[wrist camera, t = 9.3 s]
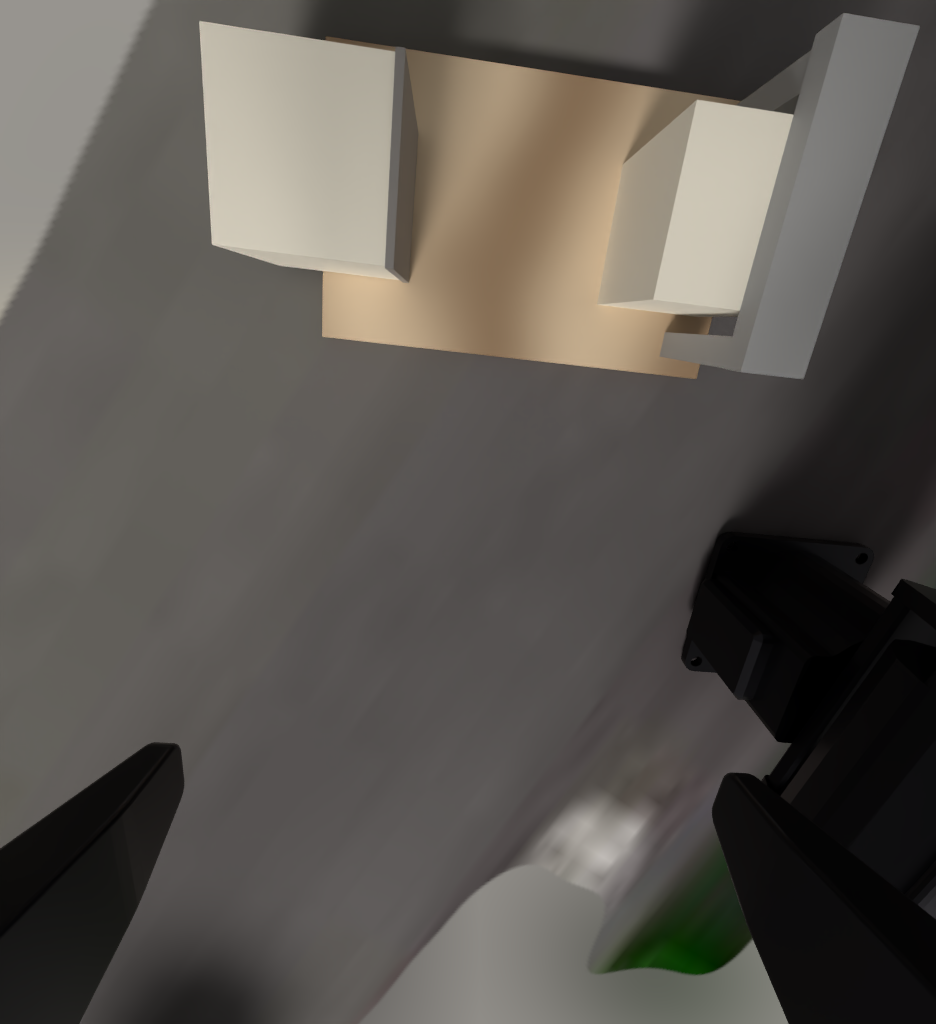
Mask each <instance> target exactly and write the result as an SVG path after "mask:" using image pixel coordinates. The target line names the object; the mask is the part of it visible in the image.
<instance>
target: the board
mask: <svg viewBox="0 0 936 1024" xmlns="http://www.w3.org/2000/svg"><path fill="white" fill-rule="evenodd" d="M325 41H331V42H337V43H343V44H350V45H356V46H363V47H369V48H376V49H382V50H388V51H395V47H391V46H385V45H379V44H372V43H366V42H359V41H353V40H347V39H340V38H334V37H327V36H326V39H325ZM406 55H407V61H408V68H409V74H410V81H411V87H412V94H413V100H414V107H415V113H416V120H417V126H418V148H417V164H416V179H415V195H414V210H413V226H412V242H411V257H410V273H409V283H403V282H402V281H400V280H393V279H385V278H376V277H368V276H360V275H352V274H344V273H336V272H327V271H323V324H322V337H330V338H339V339H348V340H357V341H365V342H374V343H383V344H392V345H401V346H410V347H418V348H427V349H436V350H445V351H454V352H463V353H471V354H480V355H489V356H498V357H507V358H516V359H525V360H533V361H542V362H551V363H560V364H569V365H578V366H586V367H595V368H604V369H613V370H622V371H631V372H639V373H648V374H657V375H666V376H675V377H684V378H692V379H696V378H697V374H698V370H699V366H700V364H698V363H692V362H687V361H681V360H676V359H670V358H665V357H659V355H660V351H661V347H662V342H663V338H664V334H665V332H669V333H685V334H700V335H708V332H709V328H710V324H711V320H712V317H694V316H686V315H678V314H669V313H661V312H653V311H645V310H637V309H629V308H620V307H612V306H604V305H597V301H598V296H599V290H600V285H601V280H602V274H603V269H604V263H605V258H606V252H607V247H608V241H609V236H610V231H611V225H612V220H613V214H614V209H615V203H616V198H617V193H618V187H619V182H620V176H621V171H622V165H623V164H624V163H625V162H626V161H627V160H629V159H630V158H631V157H632V156H633V155H634V154H635V153H637V152H638V151H639V150H640V149H641V148H642V147H643V146H645V145H646V144H647V143H648V142H649V141H650V140H651V139H653V138H654V137H655V136H656V135H657V134H658V133H659V132H661V131H662V130H663V129H664V128H665V127H666V126H667V125H669V124H670V123H671V122H672V121H673V120H674V119H675V118H677V117H678V116H679V115H680V114H681V113H682V112H683V111H685V110H686V109H687V108H688V107H689V106H690V105H691V104H693V103H694V102H695V101H696V100H703V101H709V102H716V103H722V104H729V105H735V106H736V105H737V104H738V103H740V102H741V101H737V100H731V99H724V98H718V97H712V96H705V95H699V94H692V93H686V92H680V91H673V90H667V89H660V88H654V87H648V86H641V85H635V84H628V83H622V82H616V81H609V80H603V79H596V78H590V77H584V76H577V75H571V74H564V73H558V72H552V71H545V70H539V69H532V68H526V67H520V66H513V65H507V64H500V63H494V62H488V61H481V60H475V59H468V58H462V57H456V56H449V55H443V54H436V53H430V52H423V51H417V50H411V49H406Z"/></svg>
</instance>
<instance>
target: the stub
mask: <svg viewBox="0 0 936 1024" xmlns="http://www.w3.org/2000/svg"><path fill="white" fill-rule="evenodd" d="M199 24H200V42H201V59H202V77H203V94H204V112H205V129H206V147H207V164H208V182H209V199H210V216H211V234H212V245H215V246H218V247H222V248H225V249H228V250H231V251H234V252H238V253H241V254H244V255H247V256H250V257H254V258H257V259H260V260H263V261H266V262H270V263H273V264H276V265H279V266H287V267H295V268H303V269H311V270H319V271H327V272H336V273H344V274H352V275H360V276H368V277H376V278H385V279H393V280H400V281H402V282H403V283H409V273H410V257H411V242H412V226H413V210H414V195H415V179H416V164H417V148H418V126H417V120H416V113H415V107H414V100H413V94H412V87H411V81H410V74H409V68H408V61H407V55H406V48H404V47H398V46H396V47H395V51H388V50H382V49H376V48H369V47H363V46H356V45H350V44H343V43H337V42H331V41H324V40H318V39H311V38H305V37H298V36H292V35H286V34H279V33H273V32H266V31H260V30H253V29H247V28H241V27H234V26H228V25H221V24H215V23H209V22H202V21H199Z"/></svg>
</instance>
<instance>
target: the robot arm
mask: <svg viewBox="0 0 936 1024" xmlns="http://www.w3.org/2000/svg"><path fill="white" fill-rule="evenodd" d="M731 542H734V545H733V546H732V547H731V548H729V549H727V546H728V544H729V543H731ZM859 554H860V556H859V558H857V559H856V557H857V556H858V555H859ZM873 558H874V553H873V551H872V550H871V549H870V548H868V547H866V546H864V545H862V544H858V543H847V542H836V541H825V540H814V539H803V538H792V537H781V536H770V535H758V534H747V533H736V532H727V533H724V534H722V535H721V536H720V537H719V538H718V539H717V541H716V544H715V547H714V551H713V554H712V557H711V560H710V564H709V567H708V570H707V574H706V577H705V580H704V581H703V582H702V583H701V586H700V589H699V592H698V595H697V599H696V602H695V605H694V609H693V612H692V615H691V619H690V622H689V625H688V628H687V634H688V636H687V639H686V642H685V646H684V649H683V652H682V656H681V659H682V661H683V663H684V665H685V666H686V668H688V669H689V670H692V671H701V672H715V673H717V674H718V675H719V676H720V677H721V679H722V680H723V681H724V683H725V684H726V685H727V687H728V688H729V689H730V691H731V692H732V693H733V695H734V696H735V697H736V698H737V699H738V700H745V701H746V702H747V703H748V705H749V706H750V707H751V708H752V710H753V711H754V712H755V714H756V715H757V716H758V717H759V719H760V720H761V721H762V722H763V724H764V725H765V726H766V728H767V729H768V730H769V731H770V733H771V734H772V735H773V737H774V738H775V739H776V740H777V741H778V742H783V743H792V744H791V745H790V747H789V748H788V749H787V751H786V752H785V754H784V755H783V757H782V758H781V759H780V761H779V762H778V764H777V765H776V767H775V768H774V769H773V771H772V772H771V774H770V775H765V776H764V778H763V779H762V781H760V780H759V779H758V778H756V777H755V776H753V775H751V774H747V773H727V774H726V775H725V776H724V778H723V780H722V782H721V785H720V788H719V790H718V793H717V796H716V798H715V801H714V804H713V807H712V818H713V823H714V826H715V829H716V832H717V835H718V838H719V841H720V844H721V848H722V851H723V854H724V857H725V860H726V863H727V866H728V869H729V872H730V875H731V878H732V881H733V884H734V887H735V890H736V893H737V896H738V900H739V903H740V906H741V909H742V911H743V914H744V917H745V920H746V923H747V925H748V928H749V930H750V933H751V935H752V938H753V940H754V943H755V945H756V947H757V950H758V952H759V954H760V957H761V959H762V962H763V964H764V966H765V969H766V971H767V973H768V976H769V978H770V981H771V983H772V985H773V988H774V990H775V992H776V995H777V997H778V999H779V1002H780V1004H781V1007H782V1009H783V1011H784V1014H785V1016H786V1018H787V1021H788V1023H789V1024H936V589H933V588H930V587H927V586H924V585H921V584H918V583H915V582H912V581H908V580H905V579H901V580H900V582H899V583H898V585H897V586H896V588H895V589H894V591H893V592H892V593H891V594H892V595H893V596H894V598H893V599H892V600H891V602H890V601H889V600H887V599H885V598H884V597H882V596H881V595H879V594H878V593H876V592H874V591H873V590H871V589H870V588H868V587H867V586H865V585H863V582H864V580H865V578H866V575H867V573H868V571H869V568H870V566H871V564H872V561H873ZM694 657H697V659H695V660H693V661H691V660H692V659H693V658H694ZM183 790H184V774H183V765H182V756H181V749H180V747H179V745H178V744H175V743H159V742H154V743H150V744H148V745H146V746H144V747H143V748H142V749H140V750H139V751H137V752H136V753H135V754H133V755H132V756H130V757H129V758H128V759H126V760H125V761H123V762H122V763H120V764H119V765H118V766H116V767H115V768H113V769H112V770H111V771H109V772H108V773H106V774H105V775H103V776H102V777H101V778H99V779H98V780H96V781H95V782H94V783H92V784H91V785H89V786H88V787H87V788H85V789H84V790H82V791H81V792H79V793H78V794H77V795H75V796H74V797H72V798H71V799H70V800H68V801H67V802H65V803H64V804H63V805H61V806H60V807H58V808H57V809H55V810H54V811H53V812H51V813H50V814H48V815H47V816H46V817H44V818H43V819H41V820H40V821H38V822H37V823H36V824H34V825H33V826H31V827H30V828H29V829H27V830H26V831H24V832H23V833H22V834H20V835H19V836H17V837H16V838H14V839H13V840H12V841H10V842H9V843H7V844H6V845H5V846H3V847H2V848H0V1024H79V1023H80V1021H81V1019H82V1017H83V1015H84V1013H85V1011H86V1009H87V1007H88V1005H89V1003H90V1001H91V999H92V997H93V995H94V993H95V991H96V989H97V987H98V985H99V983H100V981H101V979H102V978H103V976H104V974H105V972H106V970H107V968H108V966H109V964H110V962H111V960H112V958H113V956H114V954H115V952H116V950H117V948H118V946H119V944H120V942H121V940H122V938H123V936H124V934H125V932H126V930H127V928H128V926H129V924H130V922H131V920H132V918H133V916H134V914H135V912H136V909H137V907H138V905H139V903H140V900H141V898H142V896H143V893H144V891H145V889H146V886H147V884H148V881H149V878H150V876H151V873H152V871H153V868H154V866H155V863H156V861H157V858H158V856H159V853H160V851H161V848H162V846H163V843H164V841H165V838H166V836H167V833H168V831H169V828H170V826H171V823H172V821H173V818H174V815H175V813H176V810H177V808H178V805H179V803H180V800H181V798H182V794H183Z"/></svg>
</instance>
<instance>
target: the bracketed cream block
mask: <svg viewBox="0 0 936 1024" xmlns="http://www.w3.org/2000/svg"><path fill="white" fill-rule="evenodd" d="M919 28H920V26H917V25H911V24H906V23H900V22H894V21H888V20H882V19H877V18H871V17H865V16H859V15H853V14H848V13H843V14H841V15H840V16H839V17H838V18H836V19H835V20H834V21H832V22H831V23H830V24H828V25H827V26H826V27H825V28H823V29H822V30H821V31H819V32H818V33H817V34H816V36H815V39H814V43H813V47H812V50H810V51H809V52H808V53H806V54H805V55H804V56H802V57H801V58H799V59H798V60H797V61H795V62H794V63H793V64H791V65H790V66H789V67H787V68H786V69H785V70H783V71H782V72H780V73H779V74H778V75H776V76H775V77H774V78H772V79H771V80H770V81H768V82H767V83H766V84H764V85H763V86H761V87H760V88H759V89H757V90H756V91H755V92H753V93H752V94H751V95H749V96H748V97H747V98H745V99H744V100H742V101H741V102H740V103H738V104H737V105H736V106H735V105H729V104H722V103H716V102H709V101H703V100H696V101H695V102H694V103H693V104H691V105H690V106H689V107H688V108H687V109H686V110H685V111H683V112H682V113H681V114H680V115H679V116H678V117H677V118H675V119H674V120H673V121H672V122H671V123H670V124H669V125H667V126H666V127H665V128H664V129H663V130H662V131H661V132H659V133H658V134H657V135H656V136H655V137H654V138H653V139H651V140H650V141H649V142H648V143H647V144H646V145H645V146H643V147H642V148H641V149H640V150H639V151H638V152H637V153H635V154H634V155H633V156H632V157H631V158H630V159H629V160H627V161H626V162H625V163H624V164H623V165H622V171H621V176H620V182H619V187H618V193H617V198H616V203H615V209H614V214H613V220H612V225H611V231H610V236H609V241H608V247H607V252H606V258H605V263H604V269H603V274H602V280H601V285H600V290H599V296H598V301H597V305H604V306H612V307H620V308H629V309H637V310H645V311H653V312H661V313H669V314H678V315H686V316H694V317H738V319H737V323H736V326H735V330H734V334H733V337H731V336H715V335H700V334H685V333H669V332H665V334H664V338H663V342H662V347H661V351H660V355H659V357H665V358H670V359H676V360H681V361H687V362H692V363H698V364H703V365H709V366H714V367H720V368H724V369H727V370H732V371H738V372H744V373H753V374H762V375H771V376H779V377H788V378H797V379H804V376H805V373H806V370H807V367H808V364H809V361H810V358H811V355H812V352H813V349H814V346H815V343H816V340H817V337H818V334H819V331H820V328H821V325H822V322H823V319H824V315H825V312H826V309H827V306H828V303H829V300H830V297H831V294H832V291H833V288H834V285H835V282H836V279H837V276H838V273H839V270H840V267H841V264H842V261H843V258H844V255H845V252H846V249H847V246H848V243H849V240H850V237H851V234H852V231H853V228H854V225H855V222H856V219H857V216H858V213H859V209H860V206H861V203H862V200H863V197H864V194H865V191H866V188H867V185H868V182H869V179H870V176H871V173H872V170H873V167H874V164H875V161H876V158H877V155H878V152H879V149H880V146H881V143H882V140H883V137H884V134H885V131H886V128H887V125H888V122H889V119H890V116H891V113H892V110H893V107H894V103H895V100H896V97H897V94H898V91H899V88H900V85H901V82H902V79H903V76H904V73H905V70H906V67H907V64H908V61H909V58H910V55H911V52H912V49H913V46H914V43H915V40H916V37H917V34H918V31H919Z"/></svg>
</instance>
